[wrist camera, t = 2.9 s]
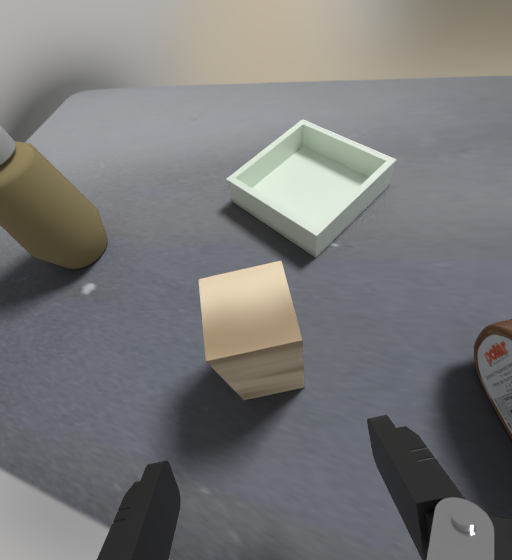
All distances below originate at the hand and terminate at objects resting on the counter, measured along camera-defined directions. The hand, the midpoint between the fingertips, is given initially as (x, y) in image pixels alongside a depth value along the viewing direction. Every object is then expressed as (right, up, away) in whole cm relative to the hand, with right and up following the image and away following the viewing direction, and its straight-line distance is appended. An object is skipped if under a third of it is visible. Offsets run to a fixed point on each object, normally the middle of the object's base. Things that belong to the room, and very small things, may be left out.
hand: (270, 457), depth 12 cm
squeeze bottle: (-20, +10, +24) cm, 33 cm away
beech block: (0, 0, +14) cm, 14 cm away
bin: (+5, +17, +23) cm, 29 cm away
